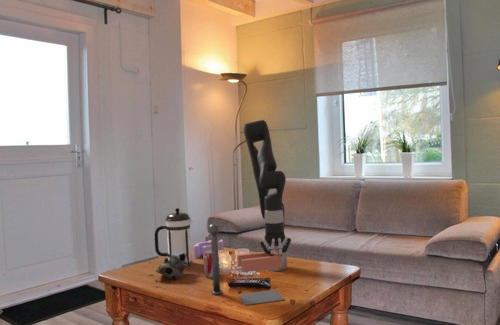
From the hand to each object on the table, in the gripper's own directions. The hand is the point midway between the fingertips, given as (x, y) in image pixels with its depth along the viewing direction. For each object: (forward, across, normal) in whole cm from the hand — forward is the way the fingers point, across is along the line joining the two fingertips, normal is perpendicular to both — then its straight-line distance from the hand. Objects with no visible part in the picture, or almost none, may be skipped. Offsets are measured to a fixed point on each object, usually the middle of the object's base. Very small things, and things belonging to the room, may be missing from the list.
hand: (276, 263), depth 175 cm
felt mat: (+13, +7, 0) cm, 15 cm away
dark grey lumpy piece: (+13, +39, -44) cm, 60 cm away
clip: (+14, +16, -79) cm, 82 cm away
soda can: (+13, +21, -37) cm, 44 cm away
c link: (+1, +7, 0) cm, 7 cm away
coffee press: (+13, +35, -65) cm, 75 cm away
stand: (+13, +23, -12) cm, 29 cm away
